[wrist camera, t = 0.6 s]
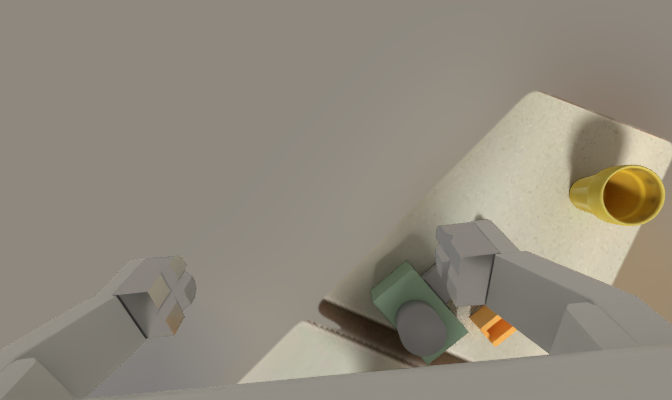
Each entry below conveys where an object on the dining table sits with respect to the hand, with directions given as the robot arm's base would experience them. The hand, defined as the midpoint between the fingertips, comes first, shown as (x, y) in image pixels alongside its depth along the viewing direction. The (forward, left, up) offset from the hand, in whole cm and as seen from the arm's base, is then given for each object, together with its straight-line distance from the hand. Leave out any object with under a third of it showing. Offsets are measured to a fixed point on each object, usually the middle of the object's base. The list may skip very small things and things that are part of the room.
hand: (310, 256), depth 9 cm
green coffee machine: (-27, -4, -50) cm, 57 cm away
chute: (-39, -9, -51) cm, 64 cm away
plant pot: (-32, -37, -51) cm, 70 cm away
